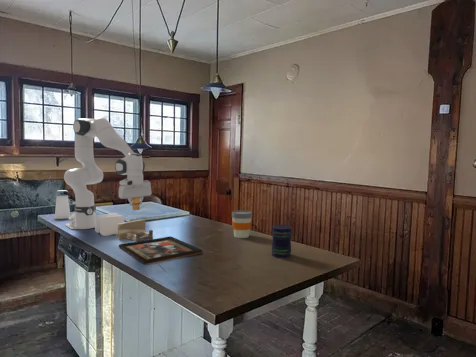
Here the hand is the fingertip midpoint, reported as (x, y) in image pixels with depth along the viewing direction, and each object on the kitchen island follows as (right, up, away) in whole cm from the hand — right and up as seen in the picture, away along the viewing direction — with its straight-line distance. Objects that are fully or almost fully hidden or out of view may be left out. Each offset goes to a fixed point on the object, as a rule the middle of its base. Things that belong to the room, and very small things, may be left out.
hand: (135, 204), depth 207 cm
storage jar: (+81, -24, -25) cm, 88 cm away
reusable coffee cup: (+61, -20, +13) cm, 66 cm away
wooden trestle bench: (0, -20, +4) cm, 20 cm away
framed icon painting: (+18, -23, -19) cm, 35 cm away
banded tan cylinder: (0, -3, 0) cm, 3 cm away
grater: (-71, -14, +59) cm, 94 cm away
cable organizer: (-20, -19, +13) cm, 31 cm away
